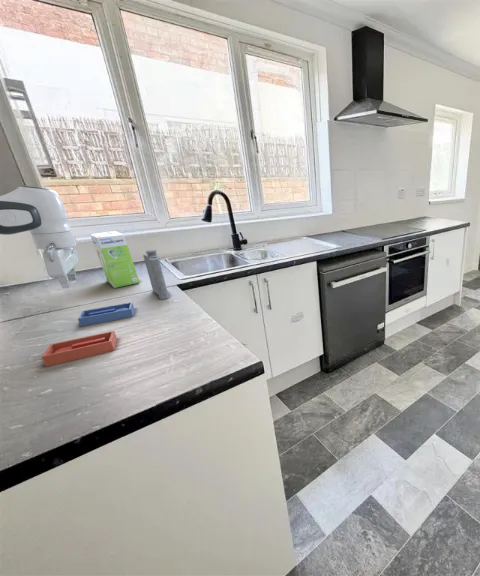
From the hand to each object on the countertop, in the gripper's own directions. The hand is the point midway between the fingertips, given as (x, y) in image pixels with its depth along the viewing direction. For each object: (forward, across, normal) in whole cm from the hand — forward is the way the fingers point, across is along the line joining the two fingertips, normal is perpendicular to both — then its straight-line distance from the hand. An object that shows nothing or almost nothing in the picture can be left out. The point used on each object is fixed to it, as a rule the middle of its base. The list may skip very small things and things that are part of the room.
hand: (70, 283), depth 100 cm
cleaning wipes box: (+16, +57, -6) cm, 60 cm away
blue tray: (+16, +5, -6) cm, 18 cm away
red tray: (+16, -22, -3) cm, 27 cm away
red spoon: (+16, -22, -3) cm, 27 cm away
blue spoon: (+15, +5, -7) cm, 17 cm away
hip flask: (+16, +23, -22) cm, 36 cm away
